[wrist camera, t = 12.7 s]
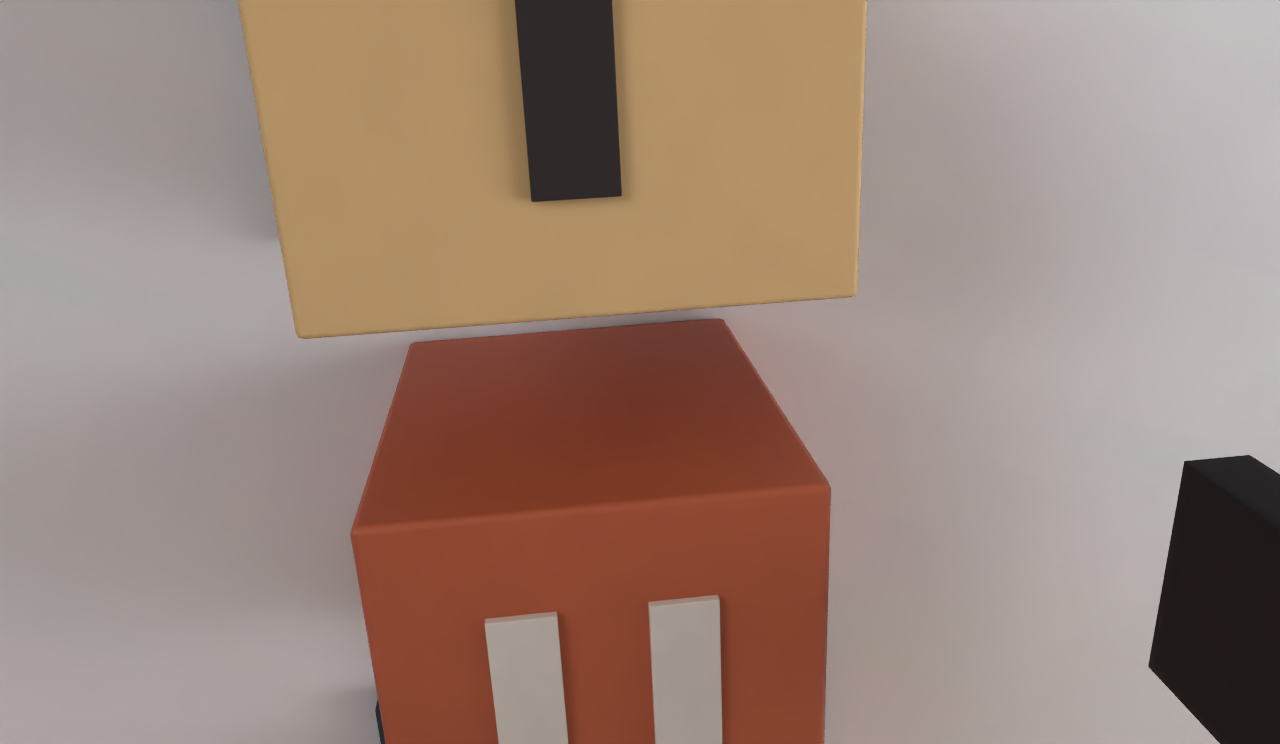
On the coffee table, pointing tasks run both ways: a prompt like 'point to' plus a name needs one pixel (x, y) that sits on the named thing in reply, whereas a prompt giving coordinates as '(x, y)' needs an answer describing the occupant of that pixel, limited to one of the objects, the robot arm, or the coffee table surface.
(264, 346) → the coffee table surface
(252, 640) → the coffee table surface
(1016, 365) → the coffee table surface
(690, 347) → the pause symbol cube
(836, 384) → the coffee table surface
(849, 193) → the tan cubes
